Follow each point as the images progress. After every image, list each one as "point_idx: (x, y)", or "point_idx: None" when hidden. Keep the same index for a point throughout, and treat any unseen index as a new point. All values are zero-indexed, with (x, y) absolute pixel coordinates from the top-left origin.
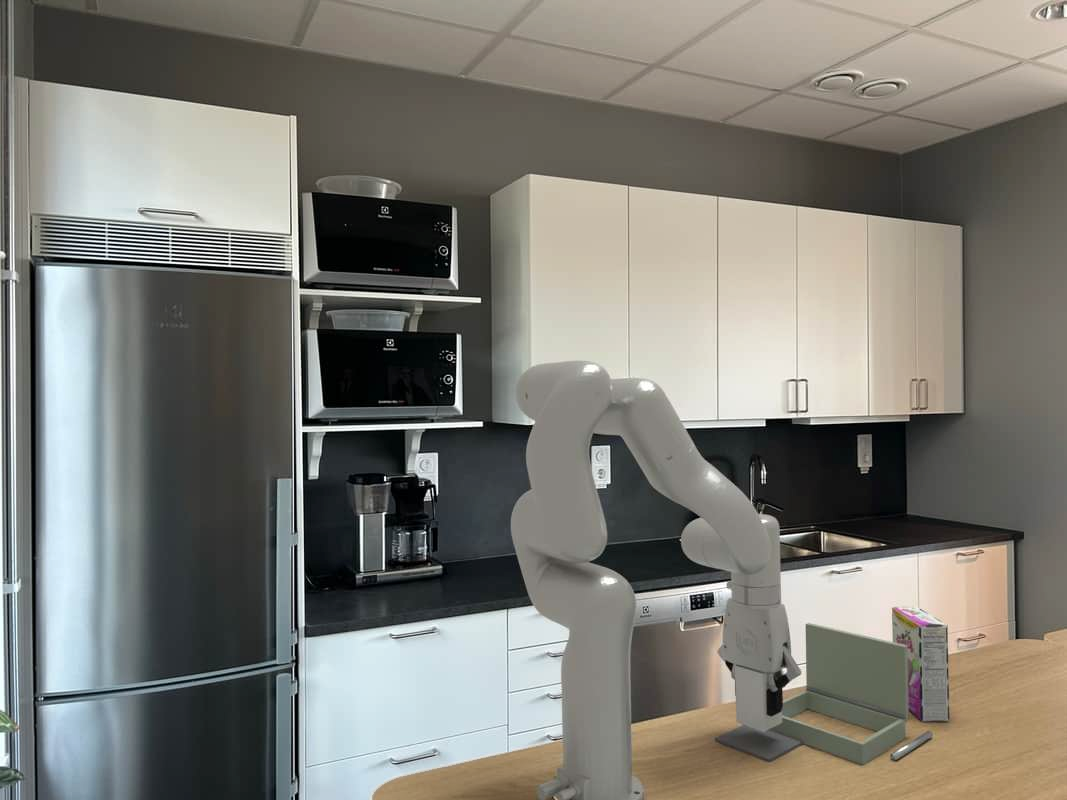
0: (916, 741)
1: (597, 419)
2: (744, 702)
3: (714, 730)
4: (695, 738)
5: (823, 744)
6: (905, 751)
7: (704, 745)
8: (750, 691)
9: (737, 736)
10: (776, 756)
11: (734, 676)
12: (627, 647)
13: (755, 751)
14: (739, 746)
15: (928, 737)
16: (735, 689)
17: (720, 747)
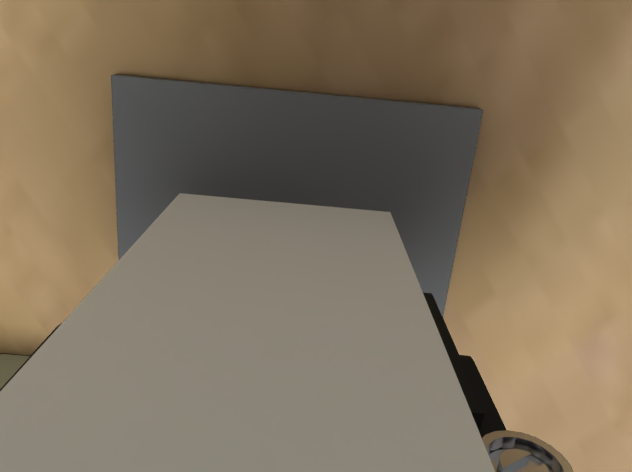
0: None
1: None
2: (323, 264)
3: (539, 221)
4: (585, 57)
5: (9, 373)
6: None
7: (499, 8)
8: (242, 316)
9: (391, 212)
10: (115, 143)
11: (519, 458)
12: None
13: (219, 111)
14: (318, 107)
15: None
16: (481, 387)
17: (412, 52)
